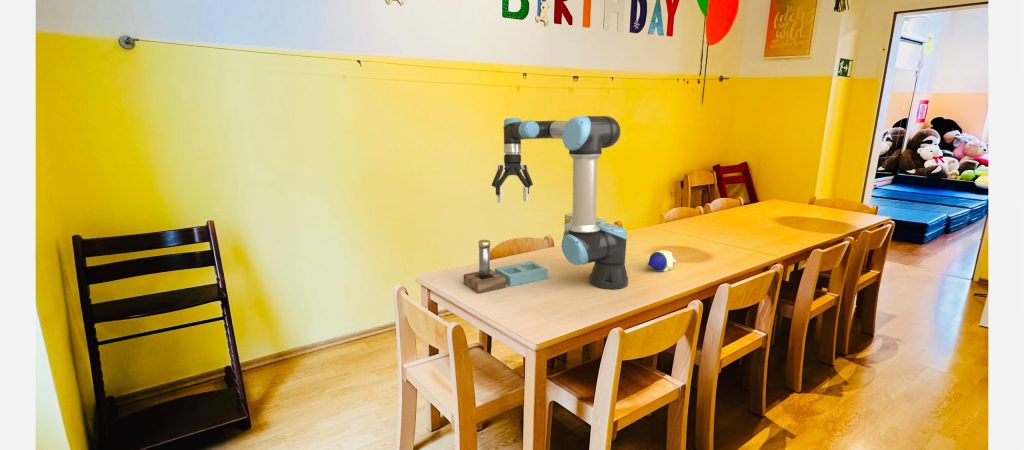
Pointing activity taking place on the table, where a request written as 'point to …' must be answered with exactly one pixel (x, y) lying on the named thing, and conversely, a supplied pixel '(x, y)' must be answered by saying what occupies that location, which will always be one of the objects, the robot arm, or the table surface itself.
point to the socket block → (484, 282)
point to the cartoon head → (661, 261)
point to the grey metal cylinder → (484, 259)
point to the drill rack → (522, 273)
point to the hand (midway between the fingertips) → (512, 202)
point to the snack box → (570, 218)
